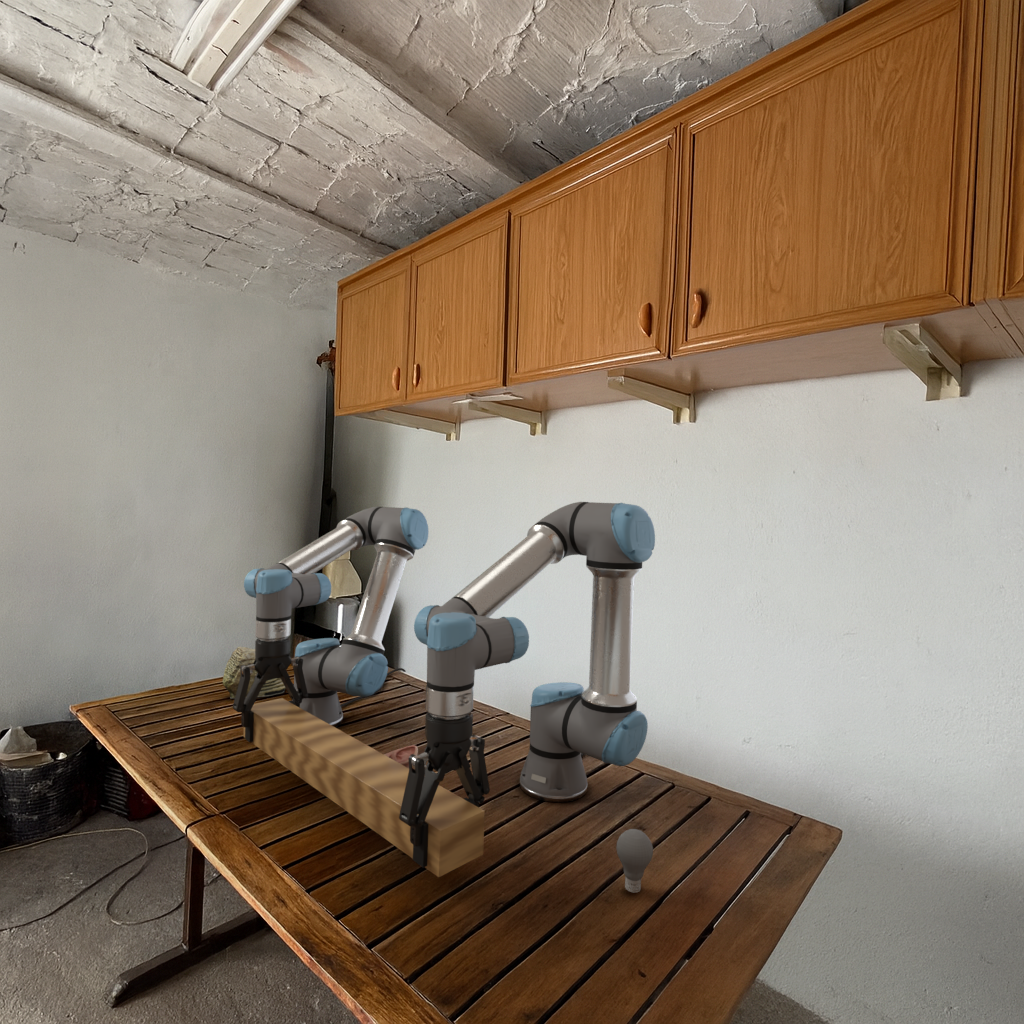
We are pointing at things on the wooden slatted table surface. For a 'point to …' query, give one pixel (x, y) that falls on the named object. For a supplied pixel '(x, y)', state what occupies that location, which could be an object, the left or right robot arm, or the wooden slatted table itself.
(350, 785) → the long beam
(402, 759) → the anatomical model
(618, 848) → the light bulb
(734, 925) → the wooden slatted table surface
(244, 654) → the fossil
